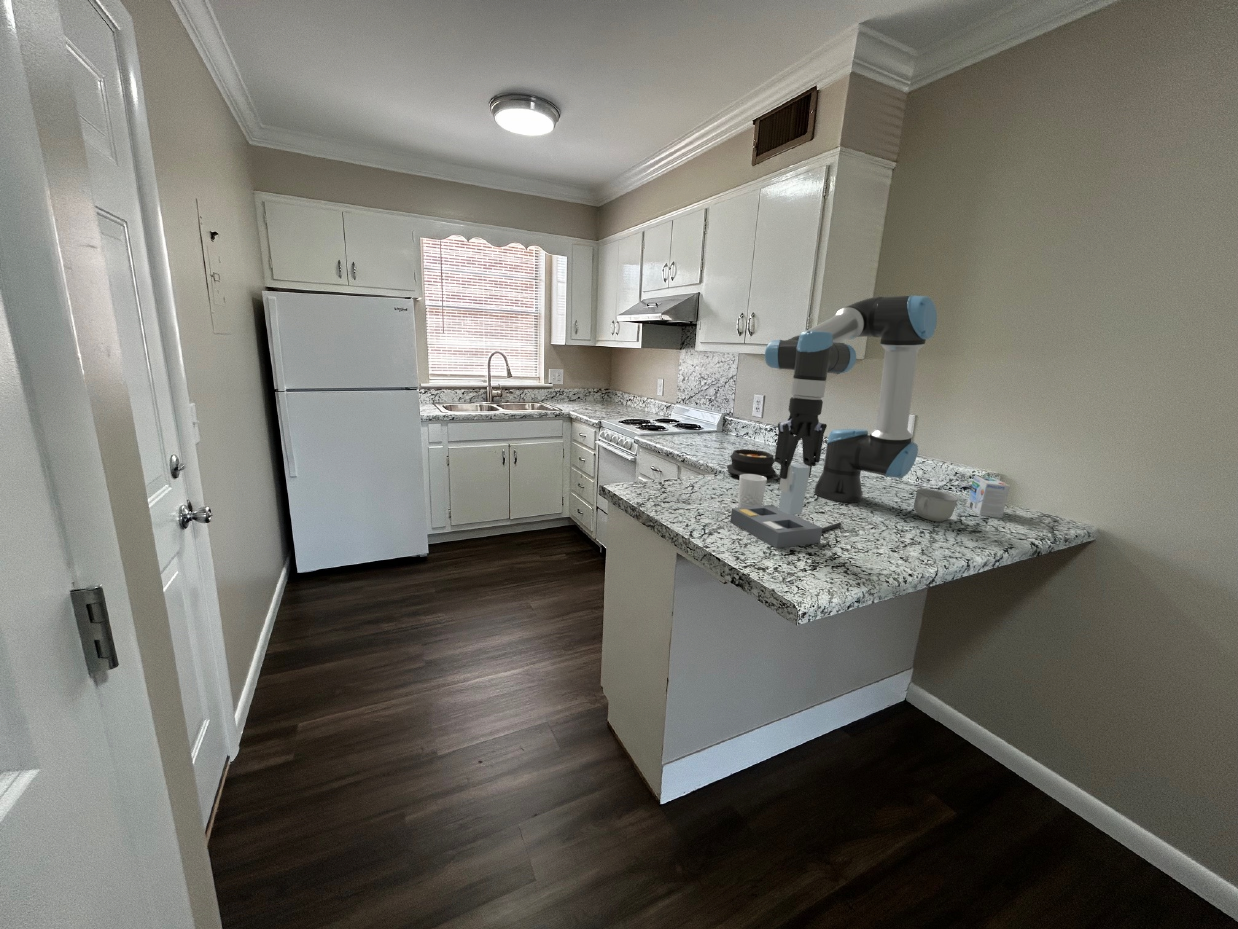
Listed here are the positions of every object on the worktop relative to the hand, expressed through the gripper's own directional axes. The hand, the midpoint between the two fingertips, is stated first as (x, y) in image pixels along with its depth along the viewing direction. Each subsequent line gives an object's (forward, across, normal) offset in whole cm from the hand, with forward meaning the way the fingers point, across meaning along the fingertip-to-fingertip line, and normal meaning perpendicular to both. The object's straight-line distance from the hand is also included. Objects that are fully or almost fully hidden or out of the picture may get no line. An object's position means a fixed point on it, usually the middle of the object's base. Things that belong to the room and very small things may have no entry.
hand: (792, 490), depth 128 cm
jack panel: (+13, 0, -5) cm, 14 cm away
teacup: (+13, -57, -2) cm, 59 cm away
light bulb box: (+13, -84, -2) cm, 85 cm away
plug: (+6, 0, 0) cm, 6 cm away
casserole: (+13, -35, -60) cm, 71 cm away
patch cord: (+13, -15, -2) cm, 20 cm away
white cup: (+13, -6, -23) cm, 27 cm away
